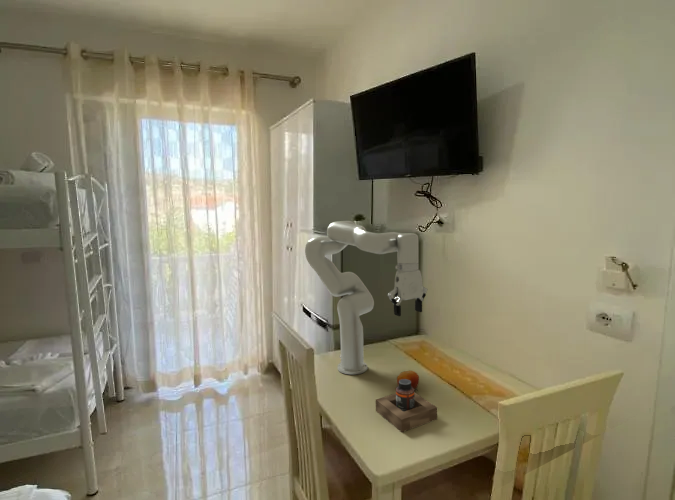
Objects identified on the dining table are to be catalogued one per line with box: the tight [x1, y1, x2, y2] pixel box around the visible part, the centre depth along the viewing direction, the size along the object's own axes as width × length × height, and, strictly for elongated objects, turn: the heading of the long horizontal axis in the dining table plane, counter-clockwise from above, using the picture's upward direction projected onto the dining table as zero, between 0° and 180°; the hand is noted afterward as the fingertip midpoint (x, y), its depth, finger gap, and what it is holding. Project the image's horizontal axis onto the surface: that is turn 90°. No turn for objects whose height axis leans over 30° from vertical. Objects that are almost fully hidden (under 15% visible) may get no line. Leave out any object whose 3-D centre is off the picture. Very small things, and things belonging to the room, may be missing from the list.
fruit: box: [396, 370, 420, 392], centre depth 140 cm, size 8×8×8 cm
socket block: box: [375, 392, 438, 433], centre depth 123 cm, size 14×14×4 cm
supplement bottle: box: [395, 379, 415, 412], centre depth 122 cm, size 6×6×11 cm
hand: (408, 313), depth 139 cm, fingers open, 9 cm apart
